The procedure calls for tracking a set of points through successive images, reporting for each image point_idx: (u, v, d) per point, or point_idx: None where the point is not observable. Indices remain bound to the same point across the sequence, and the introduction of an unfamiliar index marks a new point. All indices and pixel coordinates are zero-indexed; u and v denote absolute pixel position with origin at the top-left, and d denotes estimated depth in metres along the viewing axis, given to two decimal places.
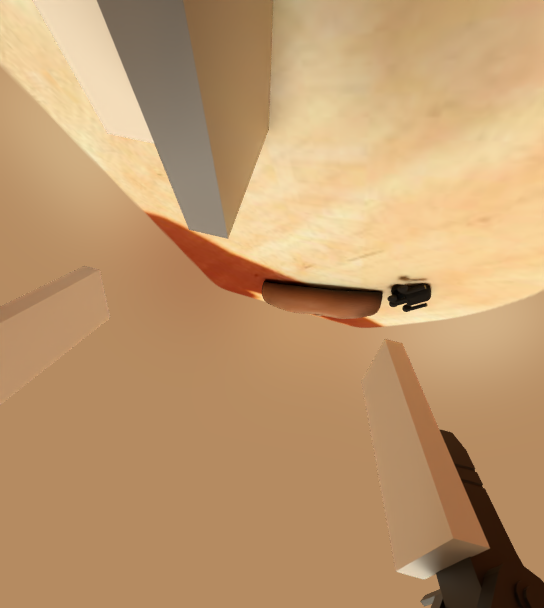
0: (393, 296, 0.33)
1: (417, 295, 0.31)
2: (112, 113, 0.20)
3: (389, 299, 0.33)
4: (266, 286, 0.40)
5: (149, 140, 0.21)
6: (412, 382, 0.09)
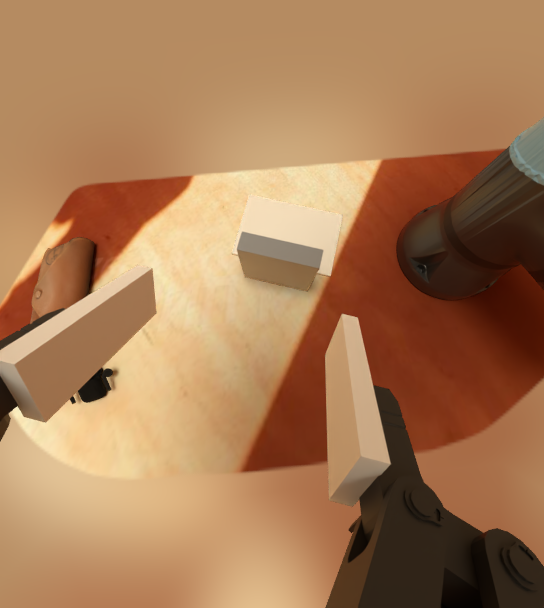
0: None
1: (96, 388, 0.34)
2: (258, 204, 0.42)
3: None
4: (91, 244, 0.39)
5: (244, 214, 0.41)
6: (358, 347, 0.10)
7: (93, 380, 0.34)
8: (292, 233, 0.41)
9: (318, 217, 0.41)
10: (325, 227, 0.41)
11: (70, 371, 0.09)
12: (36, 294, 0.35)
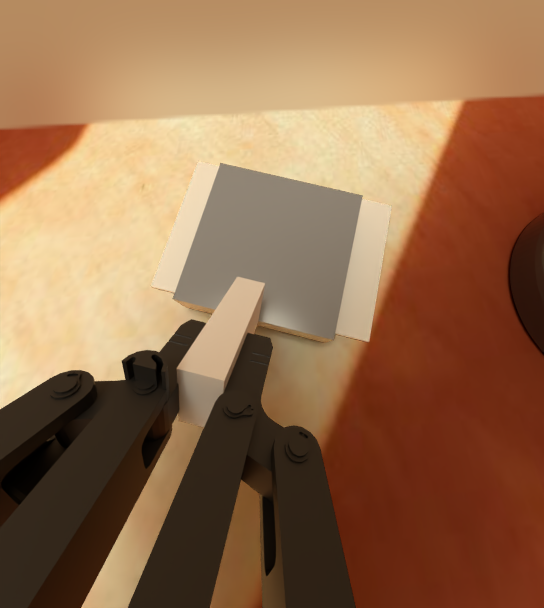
0: None
1: None
2: None
3: None
4: None
5: (185, 202, 0.20)
6: (249, 304, 0.11)
7: None
8: None
9: None
10: None
11: None
12: None
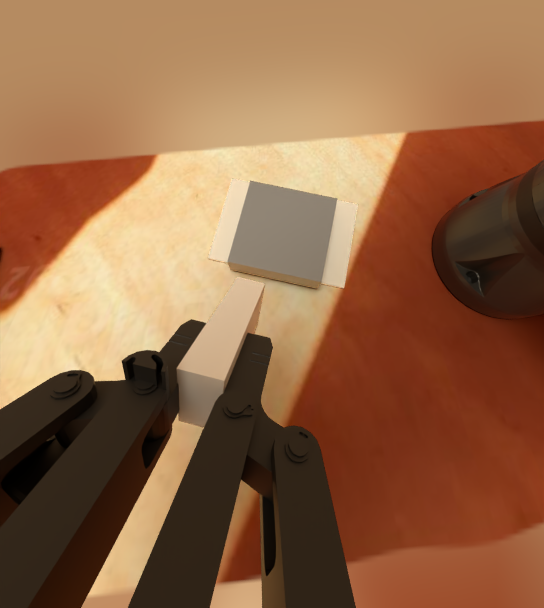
0: None
1: None
2: (244, 191, 0.31)
3: None
4: None
5: (225, 205, 0.31)
6: (249, 304, 0.11)
7: None
8: None
9: None
10: (334, 221, 0.30)
11: None
12: None
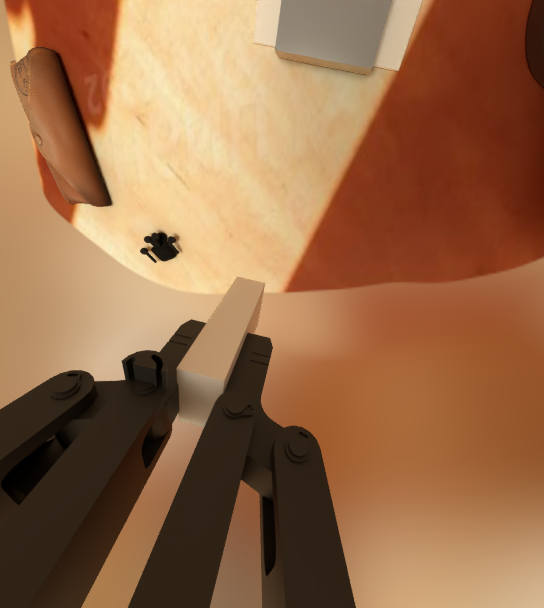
0: (158, 236, 0.40)
1: (167, 251, 0.41)
2: None
3: (154, 234, 0.39)
4: (52, 56, 0.30)
5: None
6: (249, 304, 0.11)
7: (163, 246, 0.40)
8: None
9: None
10: None
11: None
12: (37, 140, 0.34)
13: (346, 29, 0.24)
